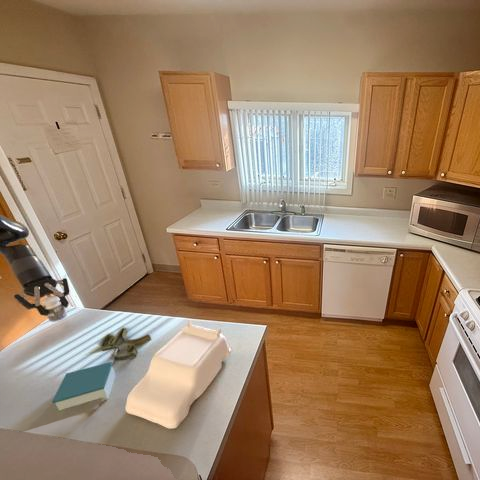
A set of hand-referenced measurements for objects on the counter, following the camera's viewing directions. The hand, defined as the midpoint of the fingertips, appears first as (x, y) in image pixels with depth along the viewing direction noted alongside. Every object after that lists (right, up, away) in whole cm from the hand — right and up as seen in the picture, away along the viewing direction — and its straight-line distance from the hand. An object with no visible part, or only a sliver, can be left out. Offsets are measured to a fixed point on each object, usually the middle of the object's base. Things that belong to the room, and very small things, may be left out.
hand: (56, 310), depth 90 cm
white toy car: (+48, -23, -3) cm, 53 cm away
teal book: (+20, -24, -9) cm, 32 cm away
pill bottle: (-2, -4, +3) cm, 5 cm away
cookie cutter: (+17, -16, +9) cm, 25 cm away
